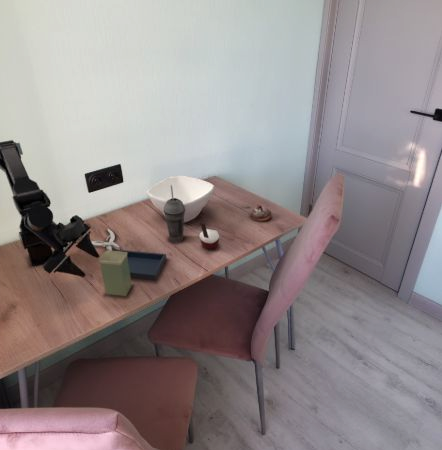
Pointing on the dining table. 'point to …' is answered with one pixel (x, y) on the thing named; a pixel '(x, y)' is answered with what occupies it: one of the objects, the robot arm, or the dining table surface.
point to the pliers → (109, 244)
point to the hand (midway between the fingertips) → (91, 266)
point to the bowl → (182, 194)
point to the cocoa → (208, 238)
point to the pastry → (261, 213)
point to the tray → (145, 264)
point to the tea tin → (115, 272)
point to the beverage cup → (174, 218)
